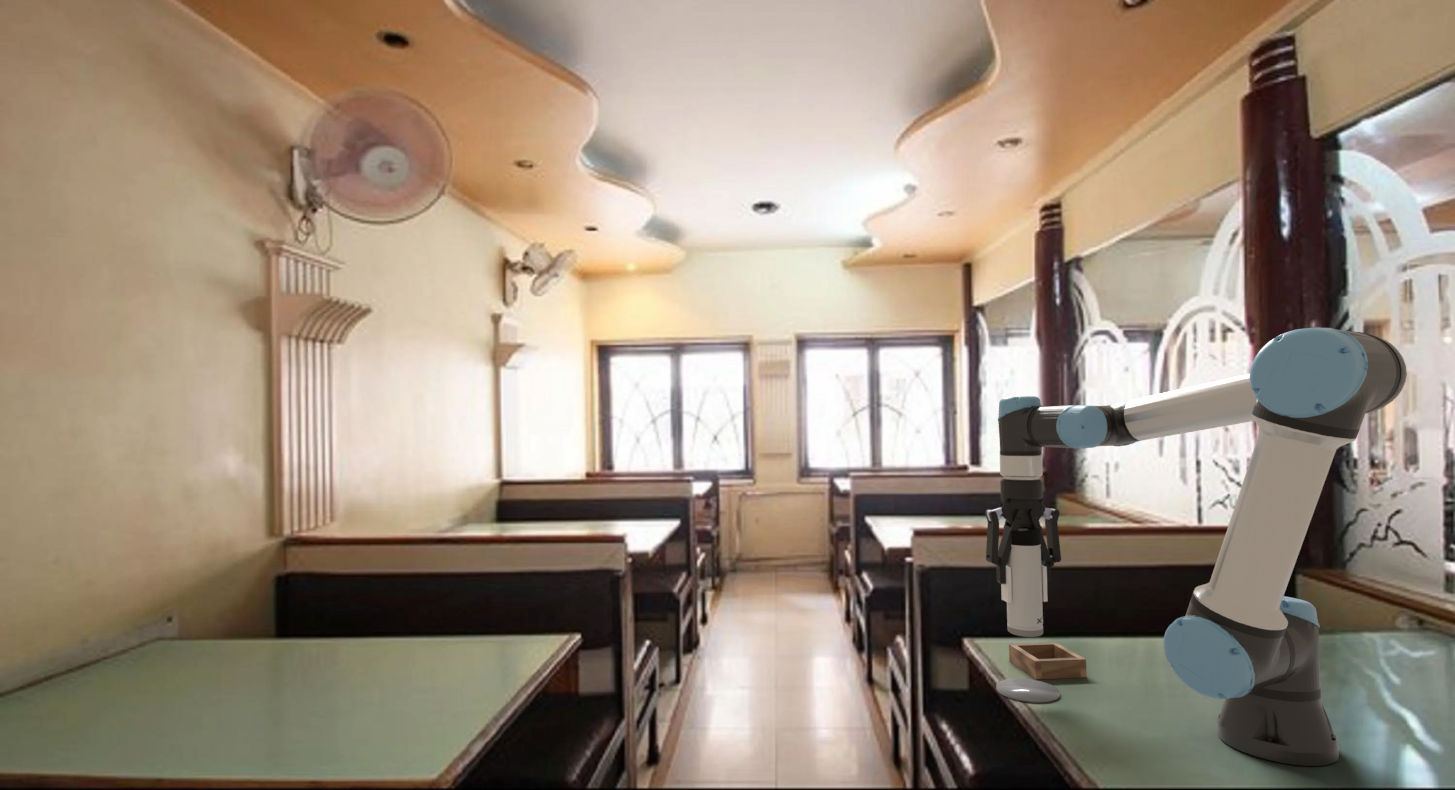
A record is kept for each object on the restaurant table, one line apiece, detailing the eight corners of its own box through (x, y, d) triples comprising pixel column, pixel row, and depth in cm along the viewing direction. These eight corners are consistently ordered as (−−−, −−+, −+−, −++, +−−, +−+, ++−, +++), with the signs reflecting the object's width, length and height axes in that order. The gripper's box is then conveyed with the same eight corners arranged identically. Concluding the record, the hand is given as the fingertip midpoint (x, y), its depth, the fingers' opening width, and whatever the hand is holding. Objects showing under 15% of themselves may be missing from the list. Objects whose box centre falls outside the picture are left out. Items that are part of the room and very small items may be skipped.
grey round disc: (1071, 701, 134) (1071, 698, 134) (1012, 704, 133) (1012, 700, 133) (1041, 680, 144) (1041, 677, 144) (986, 682, 144) (986, 679, 144)
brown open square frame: (1086, 677, 146) (1086, 659, 146) (1035, 679, 145) (1035, 661, 145) (1056, 659, 157) (1056, 642, 157) (1009, 660, 157) (1008, 644, 157)
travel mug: (1050, 637, 136) (1047, 527, 137) (1014, 637, 136) (1011, 528, 137) (1037, 627, 142) (1034, 523, 143) (1002, 628, 142) (1000, 523, 143)
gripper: (1059, 475, 145) (1062, 594, 144) (964, 477, 143) (967, 597, 142) (1080, 478, 137) (1084, 603, 136) (980, 480, 136) (983, 607, 135)
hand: (1024, 600), depth 139 cm, fingers closed on travel mug, 6 cm apart
